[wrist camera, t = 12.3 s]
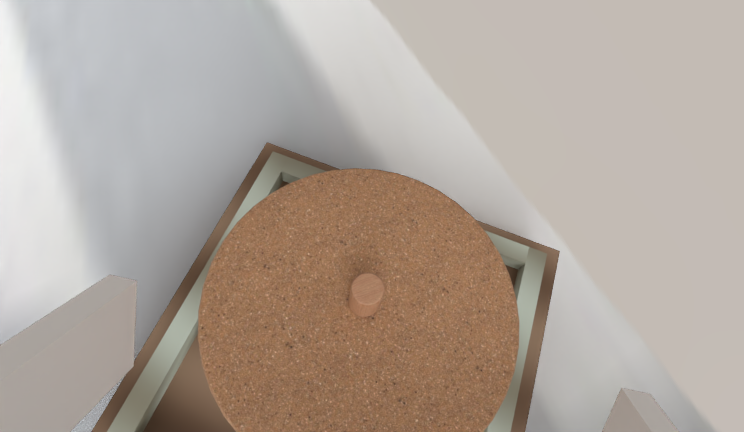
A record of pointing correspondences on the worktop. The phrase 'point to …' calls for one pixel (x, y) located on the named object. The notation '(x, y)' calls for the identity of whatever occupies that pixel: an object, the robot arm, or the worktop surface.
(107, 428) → the tray
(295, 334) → the lidded jar
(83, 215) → the worktop surface
